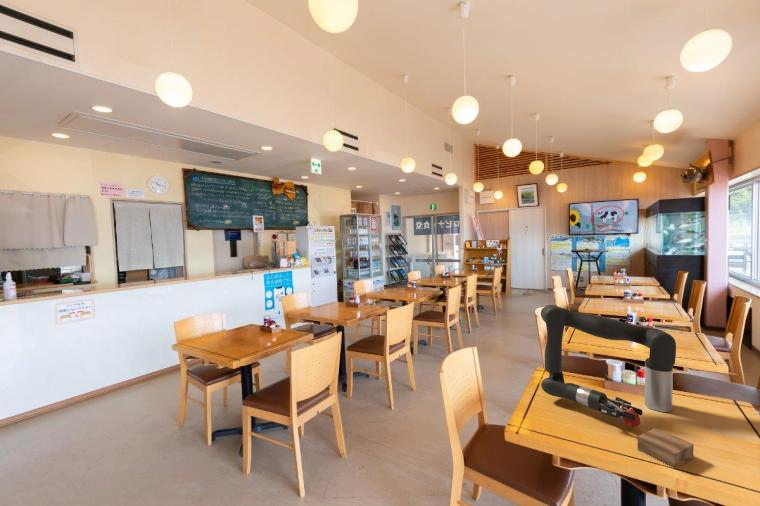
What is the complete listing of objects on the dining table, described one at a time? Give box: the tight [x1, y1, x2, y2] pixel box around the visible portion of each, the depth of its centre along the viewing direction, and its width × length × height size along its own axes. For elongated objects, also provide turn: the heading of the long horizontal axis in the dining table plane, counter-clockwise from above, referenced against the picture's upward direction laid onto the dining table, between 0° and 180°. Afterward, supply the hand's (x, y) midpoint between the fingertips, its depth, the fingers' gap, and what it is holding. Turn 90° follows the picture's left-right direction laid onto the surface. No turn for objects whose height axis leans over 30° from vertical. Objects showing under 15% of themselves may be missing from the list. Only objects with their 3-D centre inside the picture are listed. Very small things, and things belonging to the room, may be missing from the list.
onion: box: [621, 408, 641, 429], centre depth 134 cm, size 6×6×8 cm
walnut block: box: [637, 427, 695, 469], centre depth 120 cm, size 11×11×5 cm
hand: (638, 415), depth 132 cm, fingers closed on onion, 5 cm apart
